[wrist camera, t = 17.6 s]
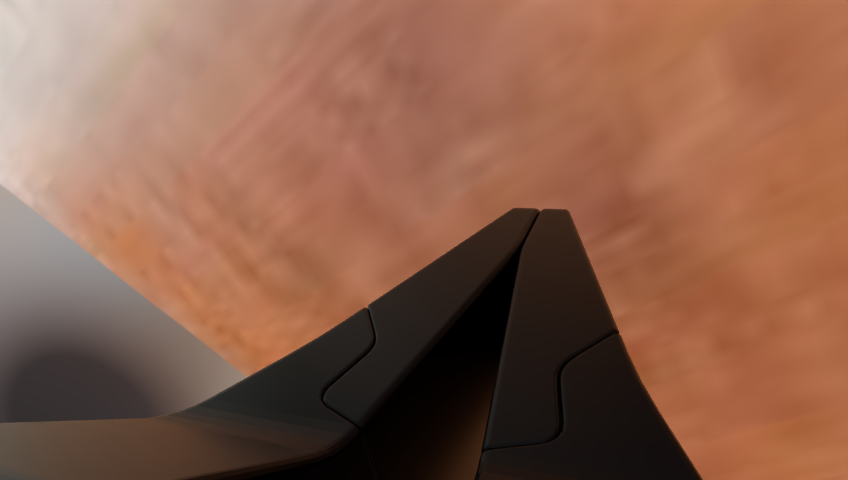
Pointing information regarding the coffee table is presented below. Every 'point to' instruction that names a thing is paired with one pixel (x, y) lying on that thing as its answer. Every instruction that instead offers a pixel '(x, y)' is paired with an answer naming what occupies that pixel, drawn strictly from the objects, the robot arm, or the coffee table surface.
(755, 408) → the coffee table surface
